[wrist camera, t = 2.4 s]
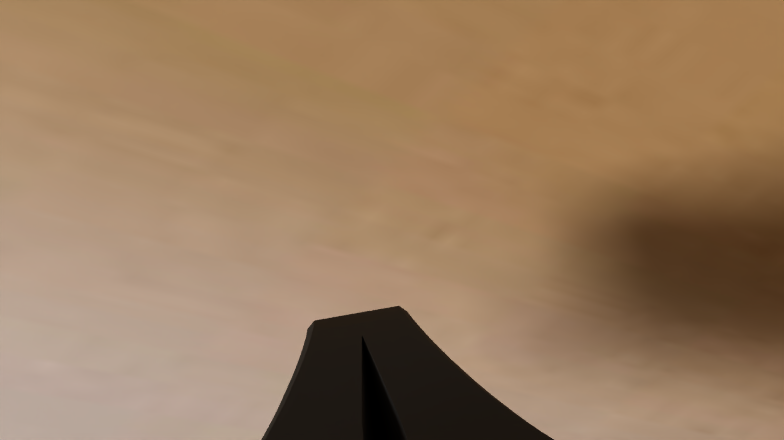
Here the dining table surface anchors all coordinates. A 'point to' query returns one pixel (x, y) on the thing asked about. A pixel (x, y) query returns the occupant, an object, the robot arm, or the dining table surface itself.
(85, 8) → the dining table surface
